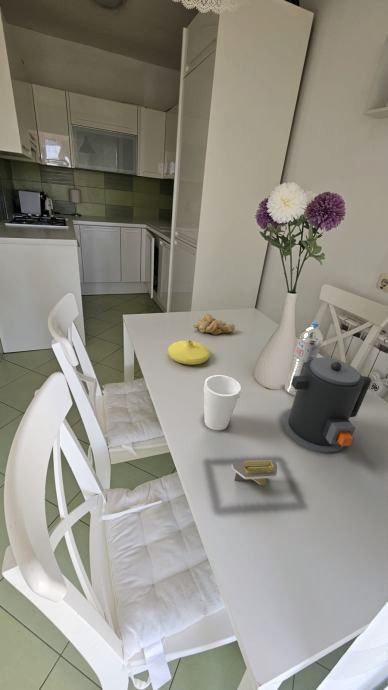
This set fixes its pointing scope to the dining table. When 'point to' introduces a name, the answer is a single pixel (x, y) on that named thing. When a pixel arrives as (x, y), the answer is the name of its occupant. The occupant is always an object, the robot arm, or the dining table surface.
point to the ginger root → (213, 325)
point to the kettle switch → (344, 438)
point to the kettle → (324, 403)
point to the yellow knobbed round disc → (188, 352)
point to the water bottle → (304, 353)
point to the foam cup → (220, 400)
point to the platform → (255, 470)
